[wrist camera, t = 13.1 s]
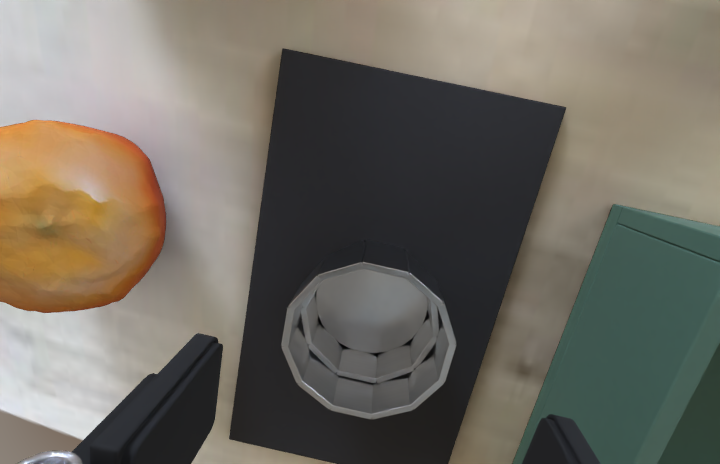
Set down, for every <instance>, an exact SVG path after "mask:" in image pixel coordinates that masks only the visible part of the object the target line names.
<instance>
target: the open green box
mask: <svg viewBox="0 0 720 464" xmlns="http://www.w3.org/2000/svg"><path fill="white" fill-rule="evenodd" d="M549 414H553V415H558V416H562V417H566V418H571V419H572V420H574V422H575V423H576V424H577V426H578V428H579V429H580V431H581V433H582V434H583V436H584V437H585V439H586V441H587V442H588V444H589V446H590V447H591V449H592V450H593V452H594V454H595V455H596V457H597V458H598V460H599V462H600V463H601V464H720V226H715V225H711V224H706V223H701V222H697V221H692V220H687V219H682V218H678V217H673V216H668V215H664V214H659V213H654V212H650V211H645V210H640V209H635V208H631V207H626V206H621V205H617V204H613V206H612V209H611V211H610V214H609V216H608V219H607V222H606V224H605V227H604V229H603V232H602V234H601V237H600V240H599V242H598V245H597V247H596V250H595V252H594V255H593V258H592V260H591V263H590V265H589V268H588V270H587V273H586V276H585V278H584V281H583V283H582V286H581V288H580V291H579V294H578V296H577V299H576V301H575V304H574V306H573V309H572V312H571V314H570V317H569V319H568V322H567V324H566V327H565V330H564V332H563V335H562V337H561V340H560V342H559V345H558V348H557V350H556V353H555V355H554V358H553V360H552V363H551V366H550V368H549V371H548V373H547V376H546V378H545V381H544V384H543V386H542V389H541V391H540V394H539V396H538V399H537V402H536V404H535V407H534V409H533V412H532V414H531V417H530V420H529V422H528V425H527V427H526V430H525V432H524V435H523V438H522V440H521V443H520V445H519V448H518V450H517V453H516V456H515V458H514V461H513V463H512V464H522V462H523V460H524V458H525V455H526V453H527V450H528V448H529V446H530V443H531V441H532V438H533V436H534V434H535V431H536V429H537V426H538V424H539V422H540V420H541V419H542V418H546V417H547V416H548V415H549Z"/></svg>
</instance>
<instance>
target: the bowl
mask: <svg viewBox="0 0 720 464" xmlns="http://www.w3.org/2000/svg"><path fill="white" fill-rule="evenodd" d="M427 310H428V313H427ZM438 310H439V313H440V316H441V319H440V322H439V320H438ZM301 317H302V322H301ZM302 323H303V324H302ZM281 346H282V350H283V352H284V355H285V357H286V359H287V362H288V364H289V367H290V369H291V371H292V374H293V376H294V378H295V381H296V383H298V385H299V386H300V387H301V388H302V389H304V390H305V391H306V392H307V393H309V394H310V395H311V396H312V397H314V398H315V399H316V400H318V401H319V402H320V403H321V404H323V405H324V406H325V407H326V408H328V409H330V408H331V411H335V412H340V413H344V414H349V415H353V416H357V417H362V418H366V419H371V418H372V419H377V418H381V417H386V416H390V415H395V414H399V413H403V412H408V411H412V410H413V409H415V408H417V407H418V406H419V405H420V404H421V403H422V402H423V401H425V400H426V399H427V398H428V397H429V396H430V395H432V394H433V393H434V392H435V391H436V390H437V389H438V388H440V387H441V386H442V385H443V384H444V382H445V381H446V377H447V374H448V371H449V368H450V364H451V361H452V358H453V355H454V351H455V348H456V339H455V336H454V333H453V329H452V326H451V323H450V319H449V316H448V313H447V309H446V306H445V303H444V300H443V297H442V294H441V291H440V288H439V285H438V283H437V281H436V279H435V278H434V277H432V276H431V275H430V274H429V273H428V272H427V271H426V270H424V269H423V268H422V267H421V266H420V265H419V264H418V262H417V261H416V260H415V259H414V258H413V257H412V256H411V255H410V254H409V253H408V251H407V250H406V249H405V250H403V248H401V247H396V246H392V245H387V244H383V243H378V242H373V241H369V240H366V241H365V242H364V240H363V241H360V242H358V243H355V244H353V245H351V246H348V247H346V248H343V249H341V250H339V251H336V252H334V253H331V254H330V255H329V256H327V257H325V258H324V260H323V261H322V262H321V263H320V264H319V265H318V266H317V267H316V268H315V269H314V270H313V272H312V273H311V274H310V275H309V276H308V277H307V278H306V279H305V280H304V281H303V282H302V283H301V285H300V287H299V289H298V290H297V292H296V294H295V296H294V297H293V299H292V301H291V302H290V304H289V306H288V308H287V314H286V320H285V326H284V332H283V338H282V344H281Z"/></svg>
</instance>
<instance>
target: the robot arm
mask: <svg viewBox="0 0 720 464" xmlns="http://www.w3.org/2000/svg"><path fill="white" fill-rule="evenodd" d="M222 351H223V345H222V344H220V343H218V339H217V338H216V337H213V336H208V335H204V334H200V333H198V334H196V335H194V337H193V338H192V339H191V340H190V341H189V342H188V343H187V344H186V345H185V346H184V347H183V348H182V349H181V350H180V351H179V352H178V353H177V354H176V355H175V356H174V358H173V359H172V360H171V361H170V362H169V363H168V364H167V365H166V366H165V367H164V368H163V369H162V370H161V371H160V372H159V373H158V374H154V373H153V374H150V375H148V376H147V377H146V378H144V379H143V380H142V381H141V382H140V383H139V385H138V386H137V387H136V388H135V389H134V390H133V391H132V392H131V393H130V394H129V395H128V396H127V397H126V398H125V399H124V400H123V401H122V402H121V403H120V404H119V405H118V406H117V407H116V408H115V409H114V410H113V411H112V412H111V413H110V414H109V415H108V416H107V417H106V418H105V419H104V420H103V421H102V422H101V423H100V424H99V425H98V426H97V427H96V428H95V429H94V430H93V431H92V432H91V433H90V434H89V435H88V436H87V437H86V438H85V439H84V440H83V441H82V442H81V443H80V444H79V445H78V446H77V447H76V448H75V449H74V450H73V451H72V452H68V451H60V450H53V451H47V452H42V453H38V454H36V455H33V456H30V457H28V458H25V459H23V460H22V461H20V462H18V463H17V464H191V463H192V461H193V459H194V458H195V456H196V454H197V453H198V451H199V449H200V448H201V446H202V444H203V443H204V441H205V439H206V438H207V436H208V434H209V433H210V431H211V429H212V426H213V424H214V420H215V414H216V405H217V396H218V387H219V378H220V369H221V360H222ZM522 464H601V463H600V462H599V460H598V458H597V457H596V455H595V454H594V452H593V450H592V449H591V447H590V446H589V444H588V442H587V441H586V439H585V437H584V436H583V434H582V433H581V431H580V429H579V428H578V426H577V424H576V423H575V422H574V420H572V419H571V418H566V417H562V416H558V415H553V414H549V415H548V416H547V417H546V418H542V419H541V420H540V422H539V424H538V426H537V429H536V431H535V434H534V436H533V438H532V441H531V443H530V446H529V448H528V450H527V453H526V455H525V458H524V460H523V462H522Z"/></svg>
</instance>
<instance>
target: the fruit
mask: <svg viewBox="0 0 720 464" xmlns="http://www.w3.org/2000/svg"><path fill="white" fill-rule="evenodd" d="M165 229H166V212H165V205H164V199H163V196H162V193H161V190H160V187H159V184H158V181H157V179H156V176H155V173H154V170H153V168H152V165H151V162H150V160H149V158H148V157H147V156H146V155H145V154H144V153H143V152H142V150H141V149H140V148H139V147H138V146H137V145H135V144H134V143H133V142H131V141H130V140H128V139H126V138H124V137H122V136H119V135H117V134H113V133H109V132H105V131H101V130H97V129H93V128H89V127H85V126H81V125H76V124H70V123H65V122H58V121H41V120H31V121H28V122H26V123H20V124H14V125H10V126H5V127H0V302H5V303H7V304H9V305H12V306H13V307H16V308H19V309H23V310H27V311H38V312H42V313H51V312H64V311H78V310H85V309H90V308H95V307H101V306H105V305H108V304H110V303H112V302H117V301H119V300H121V299H123V298H124V297H125V296H126V295H127V294H128V293H129V291H130V290H131V289H132V288H133V287H134V286H135V285H136V284H137V283H138V282H139V281H140V280H141V279H142V278H143V277H144V276H145V274H146V273H147V272H148V270H149V269H150V267H151V266H152V264H153V263H154V262H155V260H156V259H157V257H158V256H159V254H160V252H161V249H162V247H163V243H164V238H165Z"/></svg>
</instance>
